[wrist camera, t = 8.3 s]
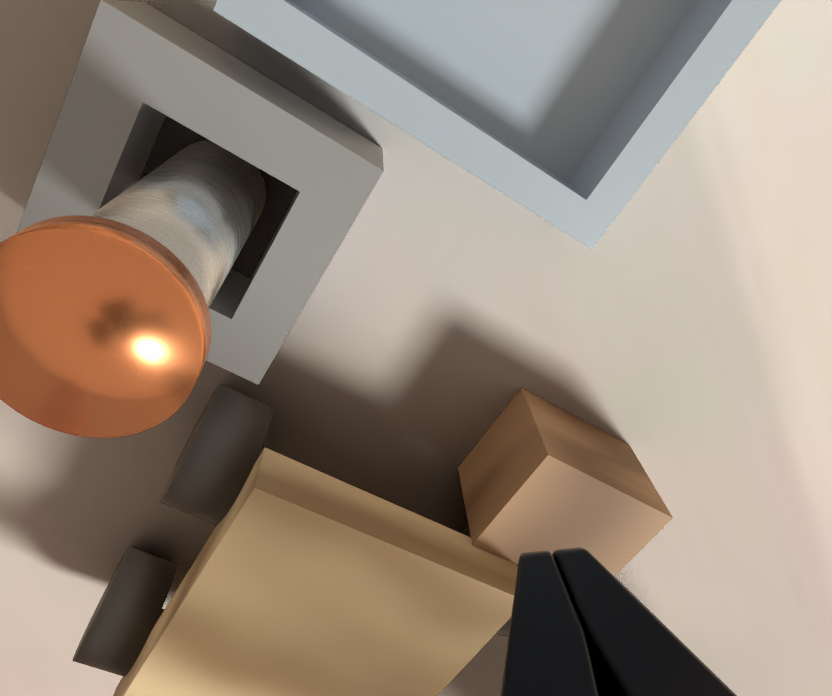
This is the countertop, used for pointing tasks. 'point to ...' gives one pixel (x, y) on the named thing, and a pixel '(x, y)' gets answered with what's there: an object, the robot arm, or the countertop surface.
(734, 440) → the countertop surface
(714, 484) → the countertop surface
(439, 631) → the trolley
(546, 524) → the block
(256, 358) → the pin socket
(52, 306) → the stop pin
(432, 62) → the tray
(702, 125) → the countertop surface
